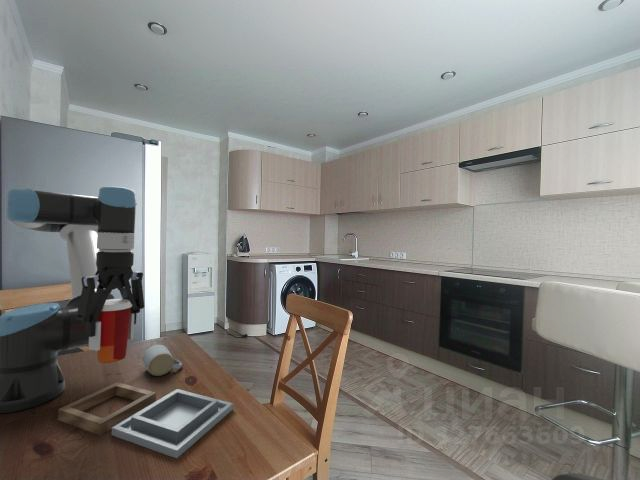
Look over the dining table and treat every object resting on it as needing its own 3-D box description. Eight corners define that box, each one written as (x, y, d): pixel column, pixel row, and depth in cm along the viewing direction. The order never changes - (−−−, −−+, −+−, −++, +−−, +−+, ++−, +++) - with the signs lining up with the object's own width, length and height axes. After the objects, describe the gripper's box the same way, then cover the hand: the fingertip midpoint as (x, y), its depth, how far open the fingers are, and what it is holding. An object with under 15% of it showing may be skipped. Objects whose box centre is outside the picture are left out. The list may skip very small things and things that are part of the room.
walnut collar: (57, 419, 68) (58, 409, 68) (117, 391, 81) (117, 382, 81) (100, 435, 64) (100, 423, 64) (155, 402, 77) (156, 392, 77)
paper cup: (128, 349, 78) (130, 297, 78) (132, 360, 72) (134, 303, 72) (90, 356, 73) (92, 300, 73) (92, 368, 67) (94, 306, 67)
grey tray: (111, 435, 64) (112, 420, 64) (177, 394, 81) (177, 383, 81) (176, 458, 58) (177, 442, 58) (232, 409, 75) (233, 397, 75)
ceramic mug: (148, 380, 88) (149, 354, 88) (141, 370, 94) (143, 346, 94) (185, 371, 95) (186, 347, 95) (177, 363, 101) (178, 340, 101)
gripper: (80, 253, 61) (76, 362, 62) (162, 250, 81) (159, 333, 81) (56, 251, 64) (52, 356, 64) (142, 249, 83) (138, 329, 83)
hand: (112, 343), depth 73 cm, fingers closed on paper cup, 8 cm apart
